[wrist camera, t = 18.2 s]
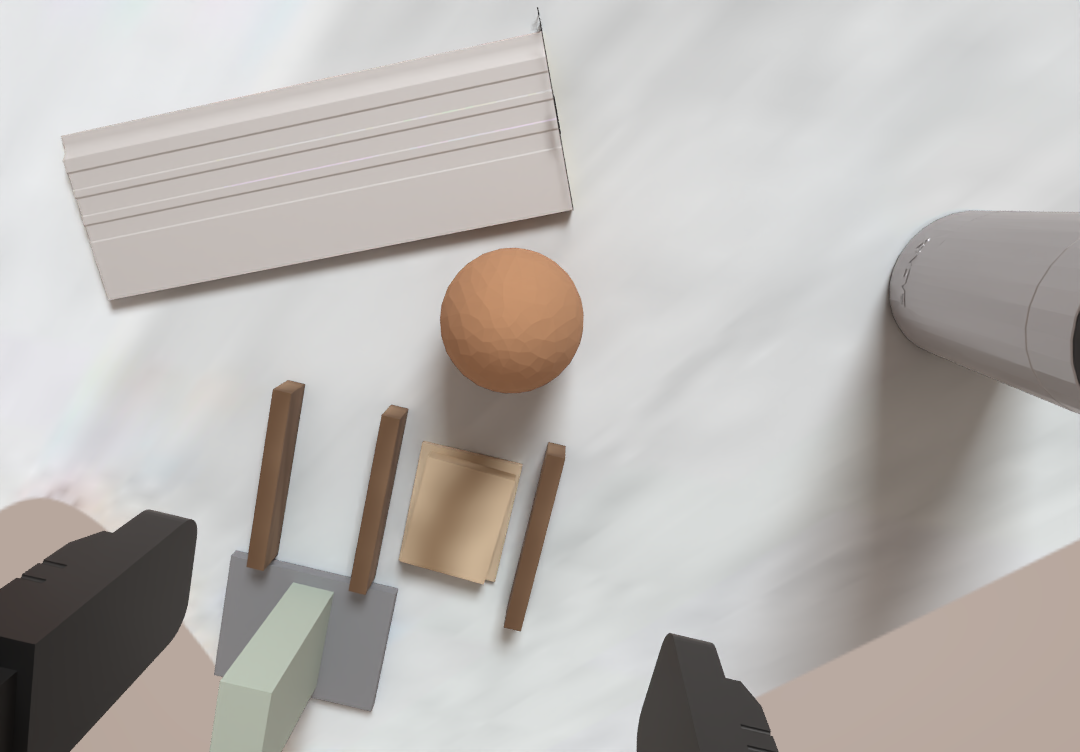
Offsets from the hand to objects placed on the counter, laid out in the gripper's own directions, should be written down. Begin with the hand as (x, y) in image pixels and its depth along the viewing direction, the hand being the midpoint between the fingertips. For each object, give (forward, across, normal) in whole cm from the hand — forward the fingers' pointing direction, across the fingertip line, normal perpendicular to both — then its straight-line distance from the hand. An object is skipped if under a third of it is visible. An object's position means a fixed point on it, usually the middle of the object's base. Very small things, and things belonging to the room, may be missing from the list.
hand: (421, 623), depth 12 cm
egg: (+36, +1, 0) cm, 36 cm away
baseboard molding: (+37, +16, -6) cm, 41 cm away
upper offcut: (+36, +2, +15) cm, 39 cm away
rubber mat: (+36, +11, +27) cm, 46 cm away
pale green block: (+35, +11, +27) cm, 46 cm away
